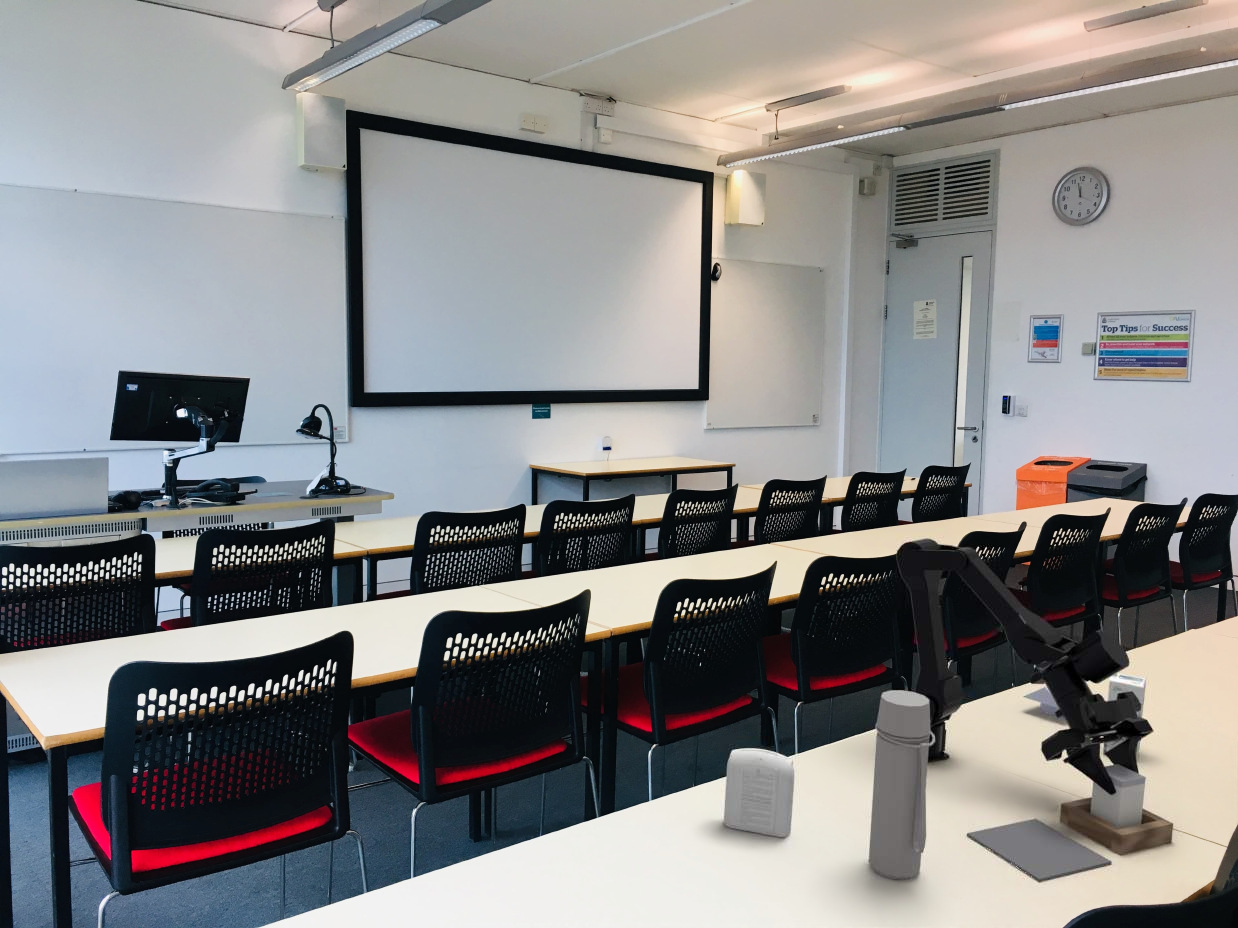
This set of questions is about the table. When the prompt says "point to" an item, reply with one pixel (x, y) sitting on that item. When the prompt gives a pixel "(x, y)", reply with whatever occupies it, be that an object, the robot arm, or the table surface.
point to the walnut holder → (1112, 837)
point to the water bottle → (900, 784)
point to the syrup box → (1126, 684)
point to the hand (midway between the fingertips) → (1126, 791)
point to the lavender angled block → (1044, 700)
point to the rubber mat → (1039, 849)
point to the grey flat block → (759, 792)
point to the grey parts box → (1120, 798)
